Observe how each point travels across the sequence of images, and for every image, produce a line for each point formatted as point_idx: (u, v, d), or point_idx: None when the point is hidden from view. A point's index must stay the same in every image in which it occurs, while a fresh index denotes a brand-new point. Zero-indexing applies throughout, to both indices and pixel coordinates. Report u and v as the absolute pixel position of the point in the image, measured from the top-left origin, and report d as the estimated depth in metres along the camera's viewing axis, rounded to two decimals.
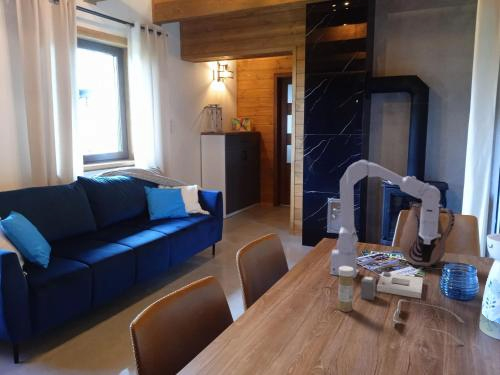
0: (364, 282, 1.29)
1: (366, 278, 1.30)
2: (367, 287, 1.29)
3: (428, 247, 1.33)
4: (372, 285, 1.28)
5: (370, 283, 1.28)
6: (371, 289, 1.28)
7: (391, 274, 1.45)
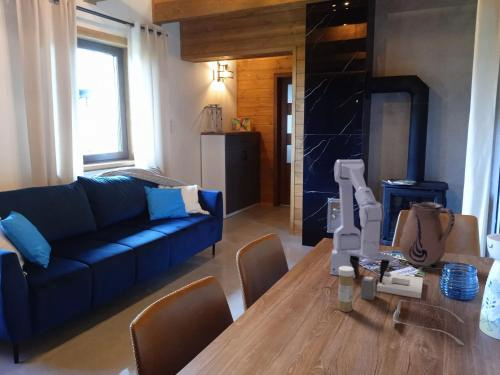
0: (364, 282, 1.29)
1: (366, 278, 1.30)
2: (367, 287, 1.29)
3: None
4: (372, 285, 1.28)
5: (370, 283, 1.28)
6: (371, 289, 1.28)
7: (391, 274, 1.45)
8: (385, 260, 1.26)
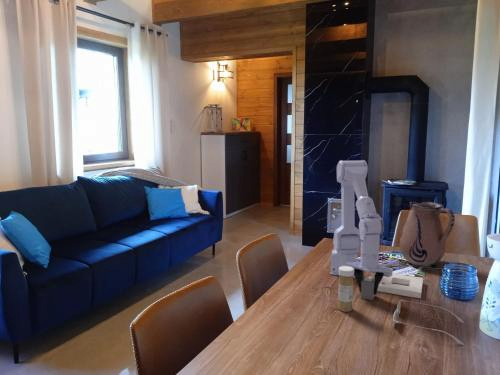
0: (364, 282, 1.29)
1: (366, 278, 1.30)
2: (367, 287, 1.29)
3: None
4: (372, 285, 1.28)
5: (370, 283, 1.28)
6: (371, 289, 1.28)
7: None
8: (379, 272, 1.28)
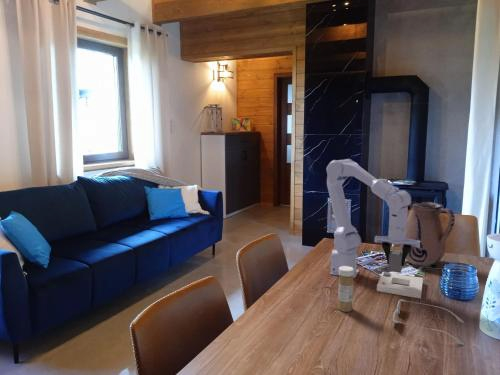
0: (392, 255, 1.34)
1: (394, 251, 1.35)
2: (394, 260, 1.34)
3: None
4: (400, 258, 1.33)
5: (398, 256, 1.33)
6: (399, 262, 1.33)
7: (391, 274, 1.45)
8: (407, 244, 1.33)
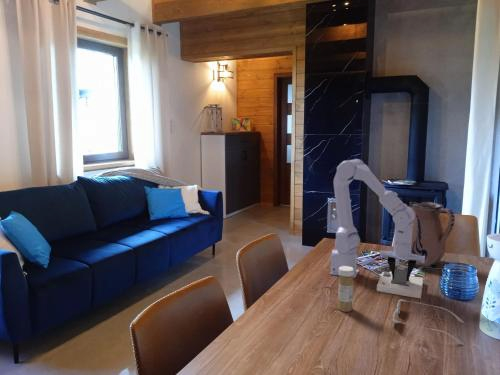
0: (397, 270, 1.36)
1: (399, 267, 1.37)
2: (400, 275, 1.36)
3: None
4: (405, 273, 1.35)
5: (403, 271, 1.36)
6: (404, 277, 1.36)
7: (391, 274, 1.45)
8: (412, 260, 1.35)
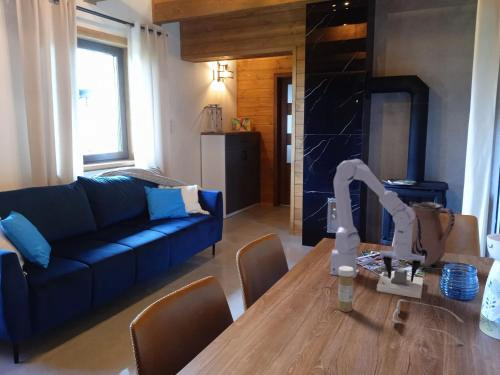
0: (397, 273, 1.37)
1: (399, 269, 1.38)
2: (399, 278, 1.36)
3: None
4: (405, 276, 1.36)
5: (403, 274, 1.36)
6: (404, 280, 1.36)
7: (391, 274, 1.45)
8: (416, 260, 1.35)
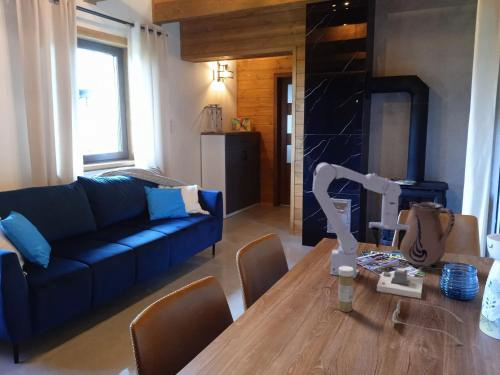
0: (397, 273, 1.37)
1: (399, 269, 1.38)
2: (399, 278, 1.36)
3: None
4: (405, 276, 1.36)
5: (403, 274, 1.36)
6: (404, 280, 1.36)
7: (391, 274, 1.45)
8: (403, 230, 1.46)
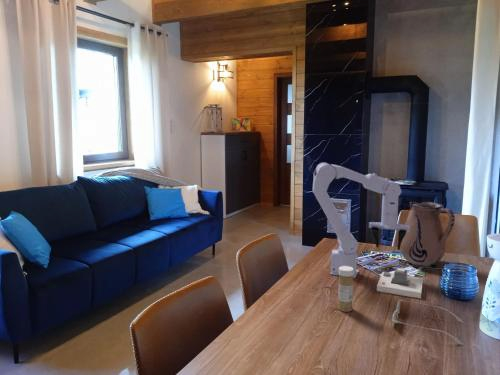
0: (397, 273, 1.37)
1: (399, 269, 1.38)
2: (399, 278, 1.36)
3: None
4: (405, 276, 1.36)
5: (403, 274, 1.36)
6: (404, 280, 1.36)
7: (391, 274, 1.45)
8: (403, 230, 1.46)
